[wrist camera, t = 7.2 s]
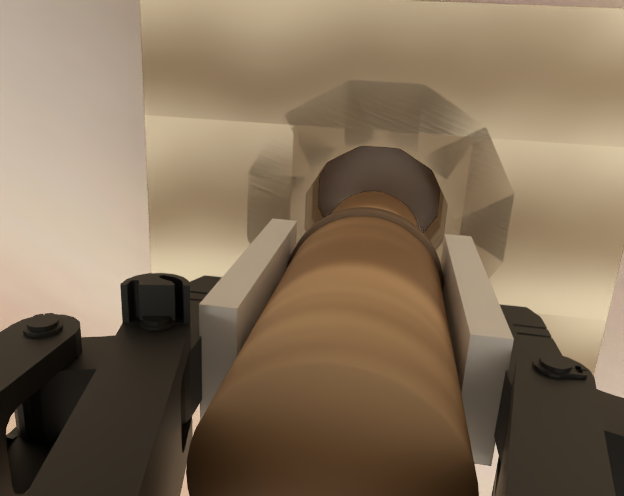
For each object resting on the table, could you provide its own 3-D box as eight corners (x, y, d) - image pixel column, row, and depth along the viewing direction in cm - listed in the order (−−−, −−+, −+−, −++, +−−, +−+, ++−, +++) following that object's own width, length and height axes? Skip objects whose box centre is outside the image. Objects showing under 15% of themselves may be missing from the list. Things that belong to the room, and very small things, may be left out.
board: (178, 1, 25) (139, -11, 21) (633, 19, 23) (679, 10, 19) (185, 328, 30) (154, 365, 26) (558, 371, 28) (583, 419, 24)
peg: (314, 172, 20) (176, 337, 8) (441, 182, 19) (510, 377, 7) (308, 288, 21) (182, 585, 9) (426, 300, 21) (463, 634, 8)
